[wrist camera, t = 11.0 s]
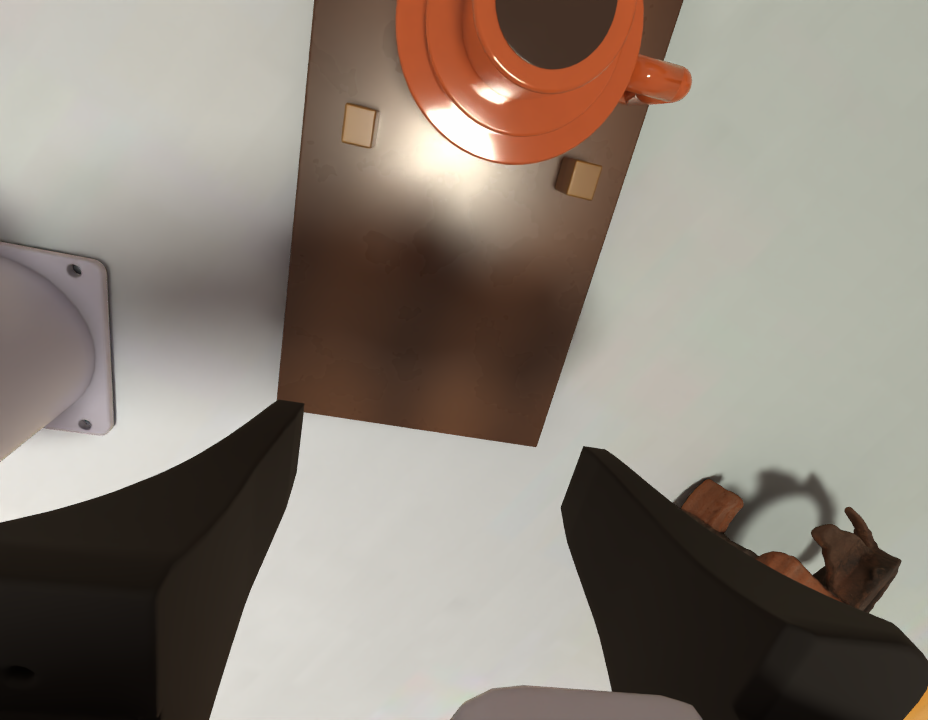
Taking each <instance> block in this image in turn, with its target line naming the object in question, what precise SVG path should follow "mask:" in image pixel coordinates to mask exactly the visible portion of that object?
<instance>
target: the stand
mask: <svg viewBox="0 0 928 720" xmlns="http://www.w3.org/2000/svg"><path fill="white" fill-rule="evenodd" d="M396 2H397V0H314V8H313V19H312V30H311V40H310V51H309V62H308V72H307V83H306V94H305V104H304V115H303V126H302V136H301V147H300V158H299V168H298V179H297V190H296V200H295V211H294V222H293V232H292V243H291V254H290V264H289V275H288V286H287V296H286V307H285V318H284V328H283V339H282V350H281V360H280V371H279V382H278V392H277V400H286V401H292V402H299V403H305V405H304V412H306V413H313V414H320V415H326V416H333V417H340V418H346V419H353V420H359V421H366V422H373V423H379V424H386V425H393V426H399V427H406V428H412V429H419V430H426V431H432V432H439V433H446V434H452V435H459V436H465V437H472V438H479V439H485V440H492V441H499V442H505V443H512V444H518V445H525V446H532V447H536V446H537V444H538V441H539V438H540V435H541V432H542V429H543V426H544V422H545V419H546V416H547V413H548V410H549V407H550V404H551V401H552V398H553V395H554V392H555V389H556V386H557V383H558V380H559V377H560V374H561V371H562V368H563V365H564V362H565V359H566V356H567V353H568V350H569V347H570V343H571V340H572V337H573V334H574V331H575V328H576V325H577V322H578V319H579V316H580V313H581V310H582V307H583V304H584V301H585V298H586V295H587V292H588V289H589V286H590V283H591V280H592V277H593V274H594V271H595V267H596V264H597V261H598V258H599V255H600V252H601V249H602V246H603V243H604V240H605V237H606V234H607V231H608V228H609V225H610V222H611V219H612V216H613V213H614V210H615V207H616V204H617V201H618V198H619V195H620V191H621V188H622V185H623V182H624V179H625V176H626V173H627V170H628V167H629V164H630V161H631V158H632V155H633V152H634V149H635V146H636V143H637V140H638V137H639V134H640V131H641V128H642V125H643V122H644V119H645V116H646V112H647V109H648V106H649V105H640V106H627V105H623V104H619V103H618V104H617V106H616V107H615V109H614V110H613V112H612V113H611V114H610V115H609V117H608V118H607V119H606V120H605V122H604V123H603V124H602V125H601V126H600V127H599V128H598V129H597V130H596V131H595V132H594V133H593V134H592V135H591V136H590V137H588V138H587V139H586V140H584V141H583V142H582V143H580V144H579V145H578V146H576V147H575V148H573V149H571V150H569V151H568V152H566V153H564V154H562V155H559V156H557V157H555V158H552V159H550V160H546V161H542V162H538V163H534V164H525V165H504V164H498V163H492V162H488V161H485V160H482V159H479V158H476V157H474V156H472V155H470V154H468V153H466V152H463V151H462V150H460V149H458V148H457V147H455V146H453V145H451V144H450V143H448V142H447V141H445V140H444V139H442V138H441V137H440V136H439V135H437V134H436V133H435V132H434V131H433V130H432V129H431V128H430V127H429V126H428V125H427V123H426V122H425V121H424V120H423V118H422V117H421V115H420V114H419V112H418V111H417V109H416V107H415V105H414V103H413V101H412V99H411V96H410V93H409V91H408V88H407V85H406V82H405V79H404V75H403V72H402V68H401V64H400V60H399V56H398V50H397V43H396V31H395V13H396ZM682 3H683V0H643V5H644V17H643V32H642V39H641V46H640V50H639V54H642V55H645V56H649V57H652V58H655V59H659V60H662V61H664V58H665V55H666V52H667V49H668V46H669V43H670V40H671V36H672V33H673V30H674V27H675V24H676V21H677V18H678V15H679V12H680V9H681V6H682Z"/></svg>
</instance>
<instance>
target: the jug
mask: <svg viewBox="0 0 928 720" xmlns="http://www.w3.org/2000/svg"><path fill="white" fill-rule="evenodd" d="M643 17H644V5H643V0H397V2H396V13H395V31H396V43H397V50H398V56H399V60H400V64H401V68H402V72H403V75H404V79H405V82H406V85H407V88H408V91H409V93H410V96H411V99H412V101H413V103H414V105H415V107H416V109H417V111H418V112H419V114H420V115H421V117H422V118H423V120H424V121H425V122H426V123H427V125H428V126H429V127H430V128H431V129H432V130H433V131H434V132H435V133H436V134H437V135H439V136H440V137H441V138H442V139H444V140H445V141H447V142H448V143H450V144H451V145H453V146H455V147H457V148H458V149H460V150H462V151H463V152H466V153H468V154H470V155H472V156H474V157H476V158H479V159H482V160H485V161H488V162H492V163H498V164H504V165H525V164H534V163H538V162H542V161H546V160H550V159H552V158H555V157H557V156H559V155H562V154H564V153H566V152H568V151H569V150H571V149H573V148H575V147H576V146H578V145H579V144H580V143H582V142H583V141H584V140H586V139H587V138H588V137H590V136H591V135H592V134H593V133H594V132H595V131H596V130H597V129H598V128H599V127H600V126H601V125H602V124H603V123H604V122H605V120H606V119H607V118H608V117H609V115H610V114H611V113H612V112H613V110H614V109H615V107H616V106H617V104H618V103H619V104H623V105H627V106H640V105H651V104H662V103H673V102H677V101H679V100H681V99H683V98H684V97H685V96H686V95H687V94H688V92H689V90H690V88H691V85H692V77H691V74H690V72H689V71H688V69H686V68H685V67H683V66H680V65H676V64H673V63H669V62H666V61H662V60H659V59H655V58H652V57H649V56H645V55H642V54H639V50H640V46H641V39H642V32H643Z"/></svg>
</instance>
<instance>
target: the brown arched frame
mask: <svg viewBox="0 0 928 720" xmlns="http://www.w3.org/2000/svg"><path fill="white" fill-rule="evenodd" d="M743 505H744V503H743V500H742V499H741V498H740V497H739V496H738V495H736V494H735V493H733V492H731V491H728V490H726V489H724V488H723V487H722V486H720V485H719V484H717V483H715V482H714V481H712V480H710V479H707V480H705V481H704V482H703V483H702V484H701V485H699V486H698V487H697V488H696V489H695V490H694V491H693V493H692V494H691V495H689V497H688V498H687V500H686V502H685V503H684V504H683V505H682V508H681V510H682V511H684V512H685V513H686V514H688V515H689V516H690V517H692V518H693V519H694V520H696V521H697V522H698V523H700V524H701V525H703V526H704V527H705V528H707V529H708V530H710V531H711V532H713V533H714V534H716V535H717V536H719V537H720V538H722V539H723V540H725V541H727V542H728V543H730V544H731V545H733V546H734V547H736V548H737V549H739V550H741V551H742V552H744V553H746V554H747V555H749V556H751V557H752V558H754V559H756V560H758V561H760V562H761V563H763V564H765V565H767V566H769V567H770V568H772V569H774V570H776V571H778V572H779V573H781V574H783V575H785V576H787V577H789V578H791V579H793V580H795V581H797V582H799V583H801V584H803V585H805V586H807V587H809V588H812V589H814V590H816V591H818V592H820V593H822V594H824V595H826V596H829V597H831V598H833V599H835V600H837V601H840V602H842V603H845V604H847V605H850V606H852V607H854V608H857V609H859V610H862V611H864V612H867V613H869V612H870V611H871V610H872V609H873V607H874V605H875V603H876V602H877V601H878V600H879V599H880V598H881V597H882V595H883V593H884V592H885V591H886V589H887V588H888V586H889V585H890V583H891V582H892V581H893V579H894V578H895V576H896V575H897V573H898V568H899V566H900V564H901V560H900V559H898V558H896V557H893V556H891V555H889V554H887V553H886V552H884V551H883V550H881V549H879V548H878V545H877V543H876V542H875V541H874V539H873V536H872V532H871V531H870V530H869V529H868V527H867V525H866V523H865V522H864V520H863V519H862V518H861V516H860V515H859V514H858V513H857V512H856V511H854V510H853V509H852V508H851V507H847V508H845V513H846V515H847V516H848V518H849V519H850V521H851V522H852V524H853V526H854V528H855V529H854V534H853V533H851V532H847V531H843V530H840V529H839V528H838V527H837V526H835V525H833V524H825V525H822V526H818V527H815V528H814V529H813V530H812V531H811V535H812V537H813V538H814V540H815V541H816V542H817V543H818V544H819V545H820V546H821V547H822V554H823V557H824V561H825V566H824V567H823V568H821V569H820V570H819V571H818V572H816V573H815V574H813V575H812V574H811V573H810V572H809V571H808V570H807V569H806V568H805V567H804V566H803V565H802V564H801V563H800V561H799V560H798V559H797V558H795V557H794V556H789V555H787V554H785V553H782V552H775V551H772V552H769V553H765V554H763V555H761V556H757V555H756V554H755V553H754V552H752V551H751V550H748V549H746V548H744V547H742V546H740V545H739V544H737V543H735V542H733V541H731V540H730V539H729V538H728V537H727V536H726V535H725V534H724V533H725V531H726V530H727V527H728V525H729V523H730V522H731V521H732V519H733V518H734V517H735V515H736V514H737V513H738V511H739V510H740V509H741V508H742V507H743Z"/></svg>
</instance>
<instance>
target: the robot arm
mask: <svg viewBox="0 0 928 720" xmlns="http://www.w3.org/2000/svg"><path fill="white" fill-rule="evenodd" d="M73 264H74V265H77V266H78V267H79V268H80V269H81V275H80V274H77V273H76V272H75V271H74V270H73ZM304 405H305V403H299V402H292V401H286V400H277V401H276V402H274V403H273V404H271V405H270V406H269V407H267V408H266V409H265V410H263V411H262V412H261V413H259V414H258V415H257V416H255V417H254V418H253V419H251V420H250V421H249V422H247V423H246V424H245V425H243V426H242V427H240V428H239V429H237V430H236V431H234V432H233V433H232V434H230V435H229V436H227V437H226V438H224V439H223V440H221V441H219V442H218V443H216V444H215V445H213V446H211V447H210V448H208V449H206V450H205V451H203V452H201V453H200V454H198V455H196V456H194V457H193V458H191V459H189V460H187V461H185V462H183V463H181V464H179V465H177V466H175V467H173V468H171V469H169V470H166V471H164V472H162V473H160V474H158V475H155V476H153V477H151V478H148V479H145V480H143V481H140V482H138V483H135V484H133V485H130V486H128V487H125V488H123V489H120V490H117V491H115V492H112V493H109V494H106V495H103V496H100V497H97V498H94V499H91V500H88V501H84V502H81V503H77V504H74V505H71V506H67V507H64V508H60V509H56V510H53V511H49V512H45V513H40V514H36V515H32V516H27V517H23V518H19V519H14V520H10V521H6V522H1V523H0V720H209V718H210V715H211V711H212V708H213V705H214V701H215V698H216V695H217V691H218V688H219V685H220V682H221V679H222V675H223V672H224V669H225V666H226V662H227V659H228V656H229V653H230V650H231V646H232V643H233V640H234V637H235V634H236V631H237V628H238V625H239V622H240V618H241V615H242V612H243V609H244V606H245V603H246V601H247V598H248V596H249V593H250V590H251V588H252V585H253V583H254V581H255V579H256V576H257V574H258V572H259V569H260V567H261V565H262V563H263V560H264V558H265V556H266V553H267V551H268V549H269V547H270V544H271V542H272V540H273V537H274V535H275V533H276V531H277V528H278V526H279V524H280V521H281V519H282V517H283V514H284V512H285V510H286V507H287V504H288V500H289V497H290V494H291V490H292V487H293V483H294V480H295V476H296V473H297V464H298V456H299V447H300V439H301V430H302V422H303V413H304ZM84 420H87V421H89V422H90V423H91V425H88V424H87V423H85V421H84ZM113 426H114V415H113V394H112V372H111V351H110V329H109V308H108V286H107V272H106V269H105V267H104V266H103V264H102V263H100V262H99V261H97V260H94V259H91V258H86V257H80V256H75V255H69V254H64V253H59V252H53V251H48V250H42V249H37V248H32V247H26V246H21V245H15V244H10V243H5V242H0V462H1V461H2V460H3V459H5V458H6V457H7V456H8V455H10V454H11V453H12V452H13V451H15V450H16V449H17V448H18V447H20V446H21V445H22V444H23V443H25V442H26V441H27V440H28V439H30V438H31V437H32V436H33V435H35V434H36V433H37V432H38V431H40V430H41V429H42V428H47V429H54V430H62V431H69V432H77V433H84V434H91V435H105V434H107V433H108V432H109V431H110V430H111V429H112V428H113ZM561 512H562V518H563V524H564V529H565V534H566V538H567V543H568V546H569V549H570V552H571V555H572V558H573V561H574V564H575V567H576V570H577V572H578V575H579V578H580V581H581V584H582V587H583V589H584V592H585V595H586V598H587V601H588V604H589V606H590V609H591V612H592V615H593V618H594V621H595V624H596V627H597V631H598V634H599V637H600V641H601V645H602V650H603V654H604V658H605V662H606V666H607V671H608V675H609V679H610V684H611V689H612V692H608V691H595V690H581V689H568V688H554V687H541V686H527V685H522V686H512V687H502V688H492V689H490V690H488V691H486V692H484V693H482V694H480V695H478V696H476V697H474V698H472V699H470V700H467V701H465V702H464V703H463V704H462V705H461V706H460V707H459V709H458V710H457V711H456V713H455V714H454V715H453V717H452V718H451V719H450V720H903V719H904V718H905V717H906V716H907V714H908V713H909V712H910V711H911V710H912V709H913V708H914V706H915V705H916V704H917V703H918V702H919V700H920V699H921V697H922V696H923V694H924V693H925V691H926V690H927V686H928V660H927V659H926V657H925V656H924V654H923V653H922V652H921V651H920V650H919V649H918V648H917V647H916V646H915V645H914V644H913V643H912V642H911V641H910V639H909V638H908V637H907V636H906V635H905V634H904V633H903V632H902V631H901V630H900V629H899V628H898V627H897V626H895V625H894V624H893V623H891V622H889V621H886V620H884V619H881V618H879V617H876V616H874V615H872V614H869V613H867V612H864V611H862V610H859V609H857V608H854V607H852V606H850V605H847V604H845V603H842V602H840V601H837V600H835V599H833V598H831V597H829V596H826V595H824V594H822V593H820V592H818V591H816V590H814V589H812V588H809V587H807V586H805V585H803V584H801V583H799V582H797V581H795V580H793V579H791V578H789V577H787V576H785V575H783V574H781V573H779V572H778V571H776V570H774V569H772V568H770V567H769V566H767V565H765V564H763V563H761V562H760V561H758V560H756V559H754V558H752V557H751V556H749V555H747V554H746V553H744V552H742V551H741V550H739V549H737V548H736V547H734V546H733V545H731V544H730V543H728V542H727V541H725V540H723V539H722V538H720V537H719V536H717V535H716V534H714V533H713V532H711V531H710V530H708V529H707V528H705V527H704V526H703V525H701V524H700V523H698V522H697V521H696V520H694V519H693V518H692V517H690V516H689V515H688V514H686V513H685V512H684V511H682V510H681V509H680V508H678V507H677V506H676V505H674V504H673V503H672V502H671V501H669V500H668V499H667V498H666V497H664V496H663V495H662V494H661V493H659V492H658V491H657V490H656V489H655V488H653V487H652V486H651V485H650V484H648V483H647V482H646V481H645V480H644V479H642V478H641V477H640V476H639V475H638V474H636V473H635V472H634V471H633V470H632V469H630V468H629V467H628V466H627V465H625V464H624V463H623V462H622V461H620V460H619V459H618V458H617V457H615V456H614V455H612V454H611V453H610V452H608V451H607V450H605V449H598V448H592V447H585V446H583V449H582V452H581V454H580V457H579V460H578V462H577V465H576V468H575V470H574V473H573V476H572V479H571V481H570V484H569V487H568V489H567V492H566V495H565V497H564V500H563V503H562V506H561Z"/></svg>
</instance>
